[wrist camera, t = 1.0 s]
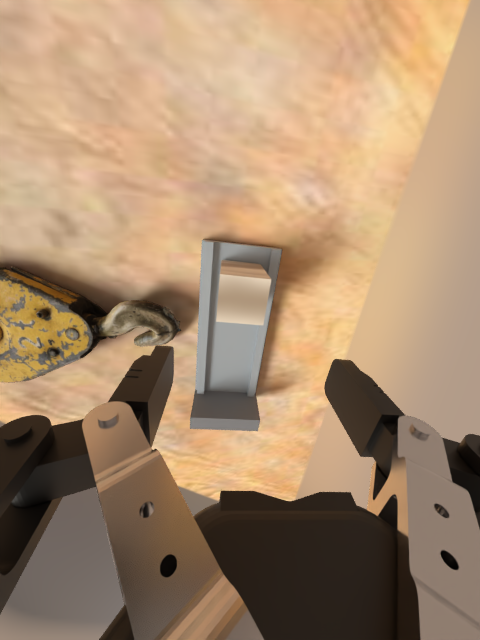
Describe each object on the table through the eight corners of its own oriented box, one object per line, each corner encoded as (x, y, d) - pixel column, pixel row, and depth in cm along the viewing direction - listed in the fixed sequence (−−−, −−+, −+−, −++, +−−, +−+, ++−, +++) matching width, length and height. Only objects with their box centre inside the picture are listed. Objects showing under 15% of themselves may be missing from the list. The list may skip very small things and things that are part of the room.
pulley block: (177, 392, 26) (-98, 396, 25) (186, 369, 32) (-38, 371, 30) (169, 271, 23) (-156, 265, 21) (181, 268, 28) (-75, 263, 27)
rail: (203, 239, 25) (196, 245, 20) (280, 248, 26) (294, 256, 21) (195, 394, 35) (190, 428, 29) (252, 397, 36) (257, 431, 30)
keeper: (221, 259, 25) (219, 274, 19) (260, 264, 25) (271, 279, 19) (218, 297, 27) (216, 321, 20) (254, 300, 27) (263, 325, 21)
